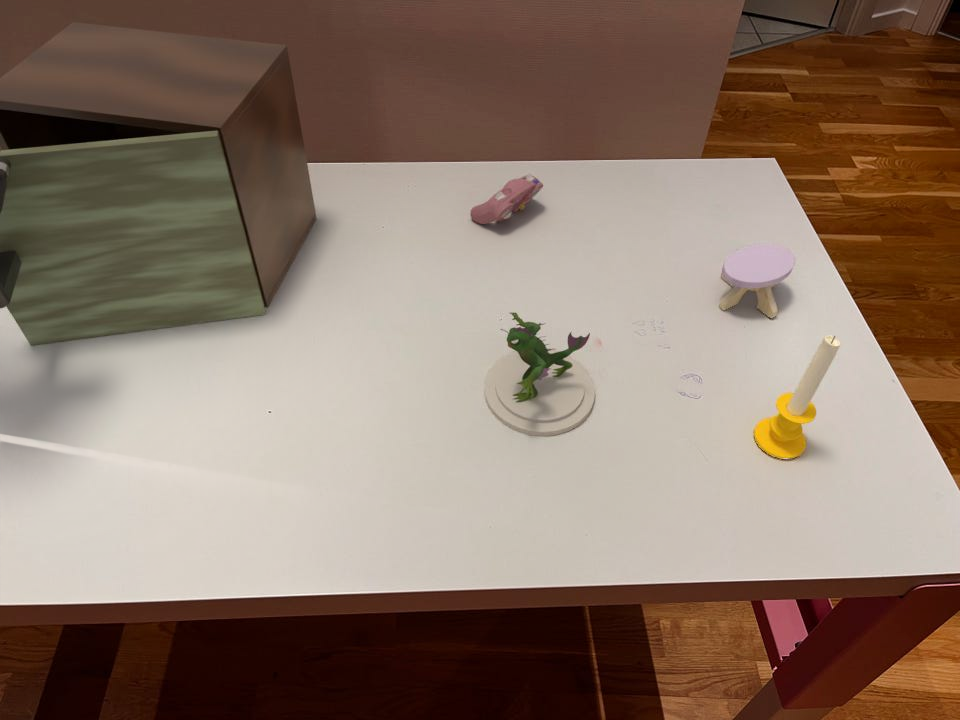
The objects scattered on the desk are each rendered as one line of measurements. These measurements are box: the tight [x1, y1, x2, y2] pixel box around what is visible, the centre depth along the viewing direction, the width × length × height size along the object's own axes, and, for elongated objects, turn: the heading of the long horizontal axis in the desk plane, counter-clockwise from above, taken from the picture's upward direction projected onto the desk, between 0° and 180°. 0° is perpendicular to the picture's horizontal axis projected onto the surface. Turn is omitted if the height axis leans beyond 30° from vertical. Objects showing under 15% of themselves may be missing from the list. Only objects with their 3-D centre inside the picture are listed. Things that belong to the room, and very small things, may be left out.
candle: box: [753, 334, 841, 459], centre depth 72 cm, size 5×5×16 cm
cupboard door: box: [0, 131, 266, 346], centre depth 75 cm, size 8×26×24 cm, turn 102°
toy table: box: [718, 243, 796, 319], centre depth 90 cm, size 10×9×6 cm
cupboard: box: [0, 22, 318, 309], centre depth 87 cm, size 18×26×24 cm
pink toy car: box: [469, 173, 544, 225], centre depth 100 cm, size 10×5×7 cm, turn 137°
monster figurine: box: [483, 311, 596, 437], centre depth 77 cm, size 12×12×10 cm
